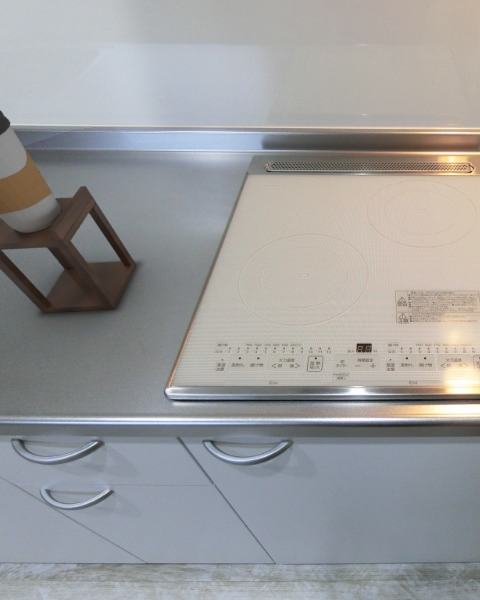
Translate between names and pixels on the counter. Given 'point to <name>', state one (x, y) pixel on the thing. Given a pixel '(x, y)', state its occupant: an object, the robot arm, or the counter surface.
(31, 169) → the coffee cup
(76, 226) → the shelf
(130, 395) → the counter surface
